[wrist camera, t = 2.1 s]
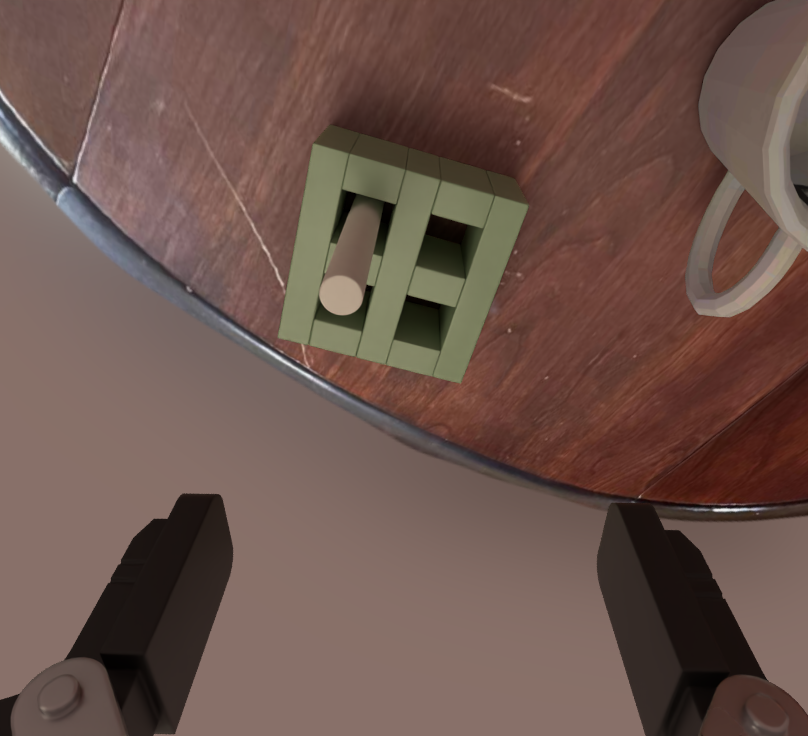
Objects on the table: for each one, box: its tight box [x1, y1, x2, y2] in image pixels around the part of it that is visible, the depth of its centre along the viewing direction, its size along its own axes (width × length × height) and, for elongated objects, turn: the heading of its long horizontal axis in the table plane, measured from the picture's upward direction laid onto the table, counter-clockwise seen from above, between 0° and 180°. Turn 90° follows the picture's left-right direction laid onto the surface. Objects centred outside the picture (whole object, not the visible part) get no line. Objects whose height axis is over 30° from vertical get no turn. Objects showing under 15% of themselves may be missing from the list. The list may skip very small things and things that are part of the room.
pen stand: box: [278, 125, 529, 383], centre depth 30 cm, size 10×10×5 cm
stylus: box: [319, 194, 384, 315], centre depth 26 cm, size 2×2×13 cm
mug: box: [685, 0, 808, 317], centre depth 25 cm, size 10×15×10 cm
